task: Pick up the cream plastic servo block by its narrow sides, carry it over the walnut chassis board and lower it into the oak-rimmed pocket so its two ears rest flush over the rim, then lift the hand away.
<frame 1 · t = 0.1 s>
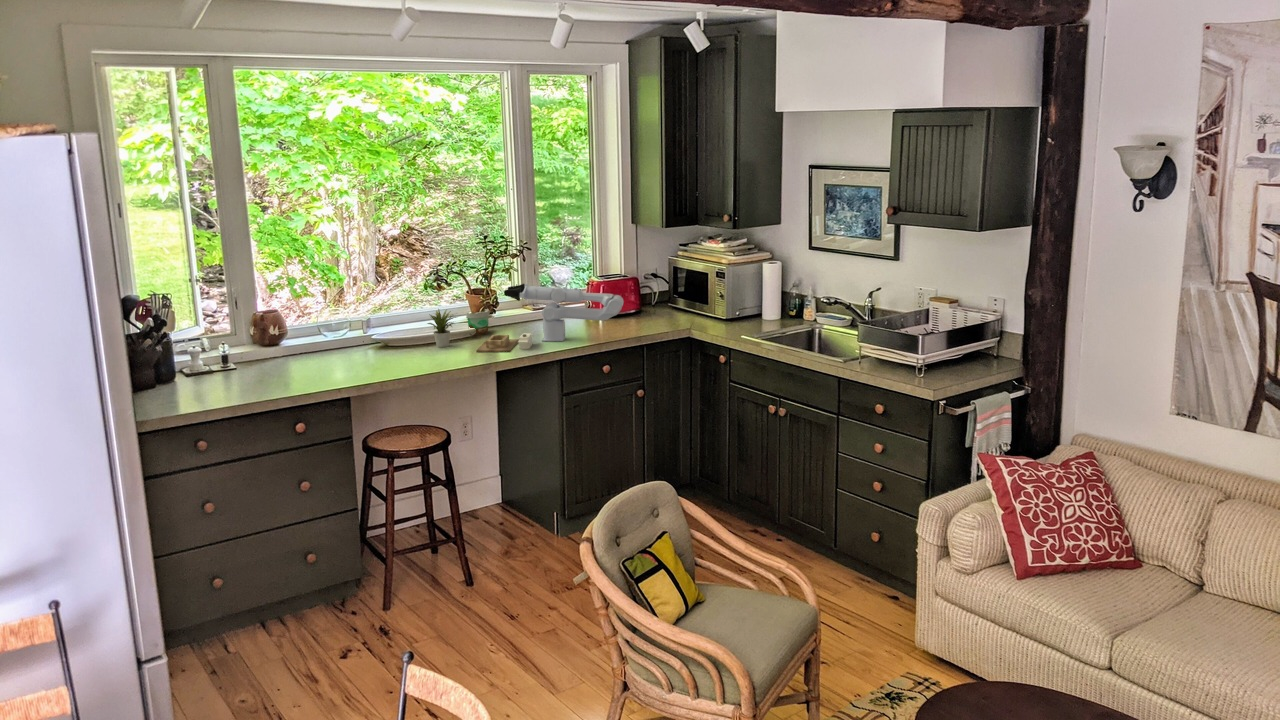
hand: (506, 291, 434), 22 cm above the worktop, tool horizontal, fingers open, 7 cm apart
food container: (482, 333, 452), on the worktop
servo block: (525, 346, 426), on the worktop
chassis board: (498, 346, 427), on the worktop
house plant: (443, 347, 429), on the worktop
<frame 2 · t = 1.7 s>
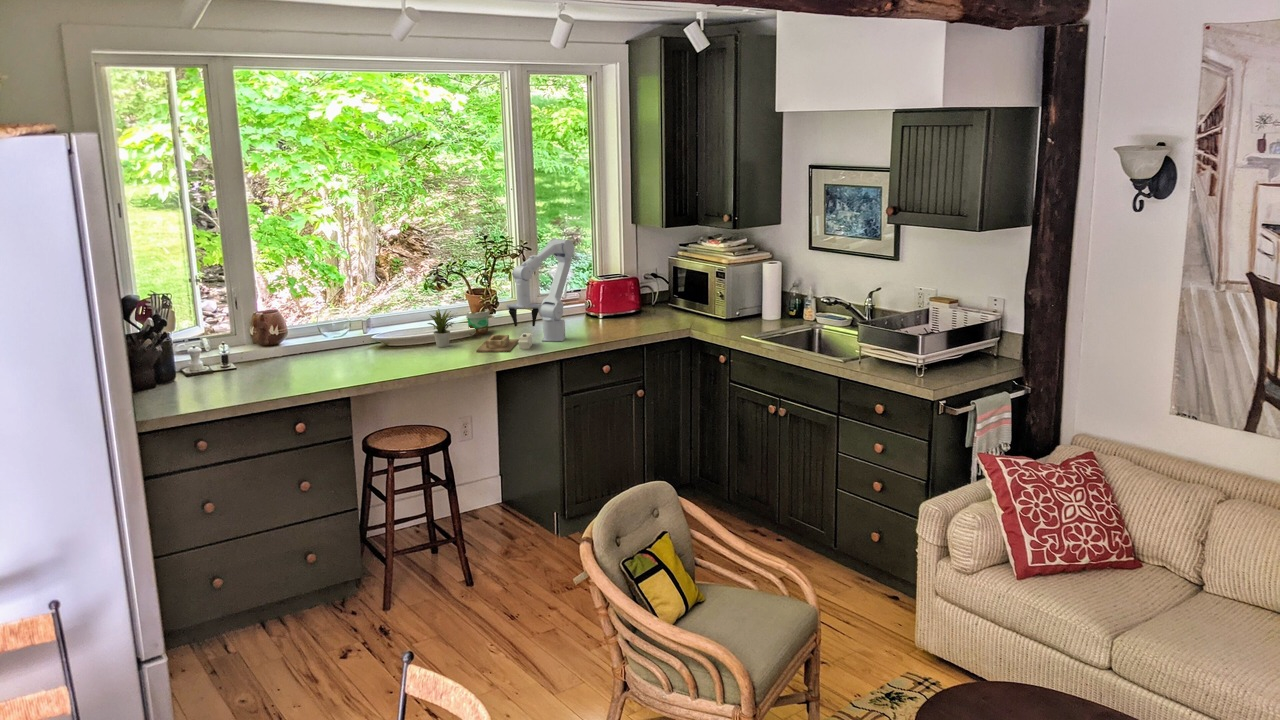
hand: (524, 325, 424), 9 cm above the worktop, tool pointing down, fingers open, 7 cm apart
nothing on the worktop moved.
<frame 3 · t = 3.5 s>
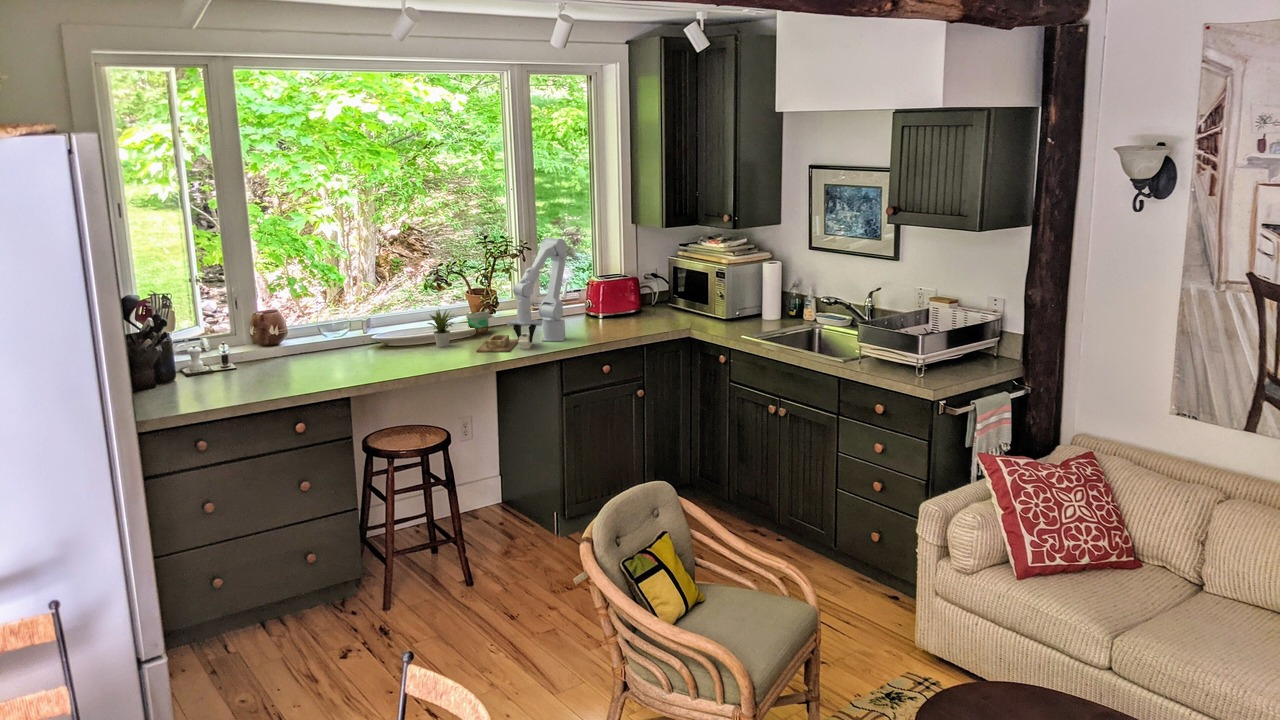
hand: (525, 342, 426), 2 cm above the worktop, tool pointing down, fingers closed on servo block, 4 cm apart
servo block: (525, 346, 426), on the worktop, touching gripper
everything else where it was.
when the fingers open (4 cm above the worktop, at t = 7.3 s): servo block drops 1 cm, resting on chassis board.
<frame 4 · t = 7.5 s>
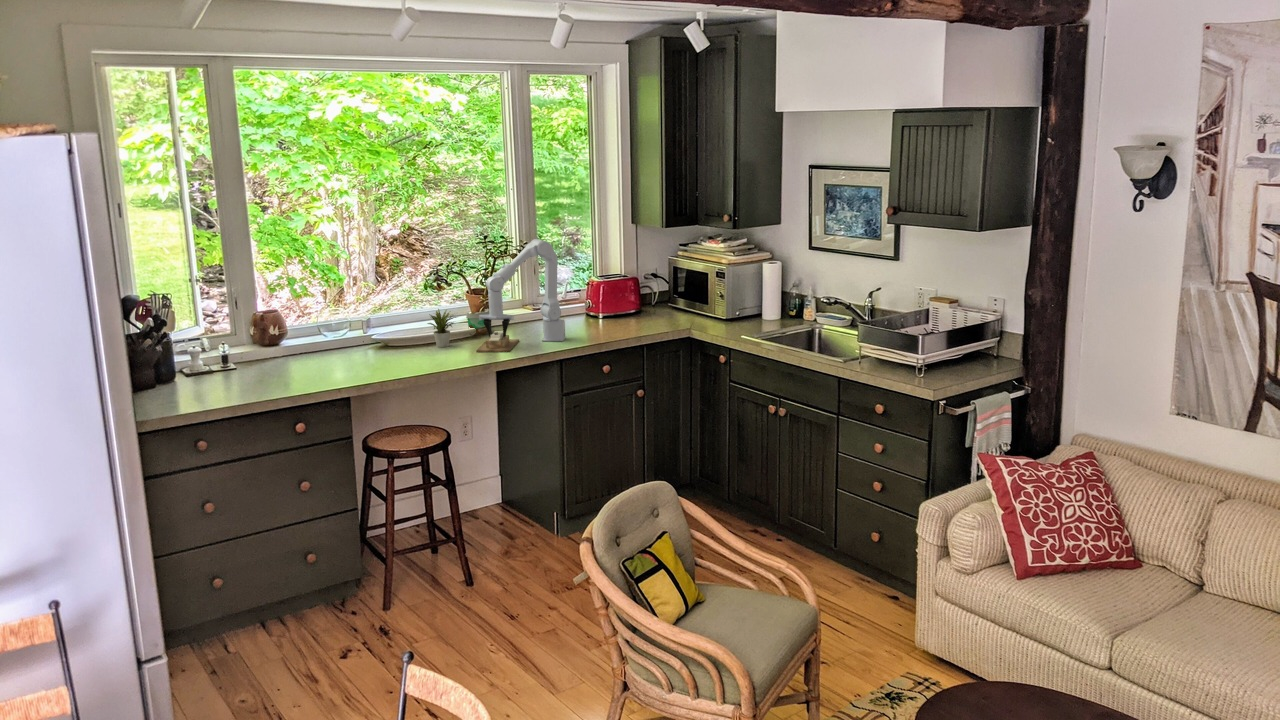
hand: (497, 336, 426), 4 cm above the worktop, tool pointing down, fingers open, 5 cm apart
servo block: (497, 344, 427), point 1 cm above the worktop, touching chassis board
everything else where it was.
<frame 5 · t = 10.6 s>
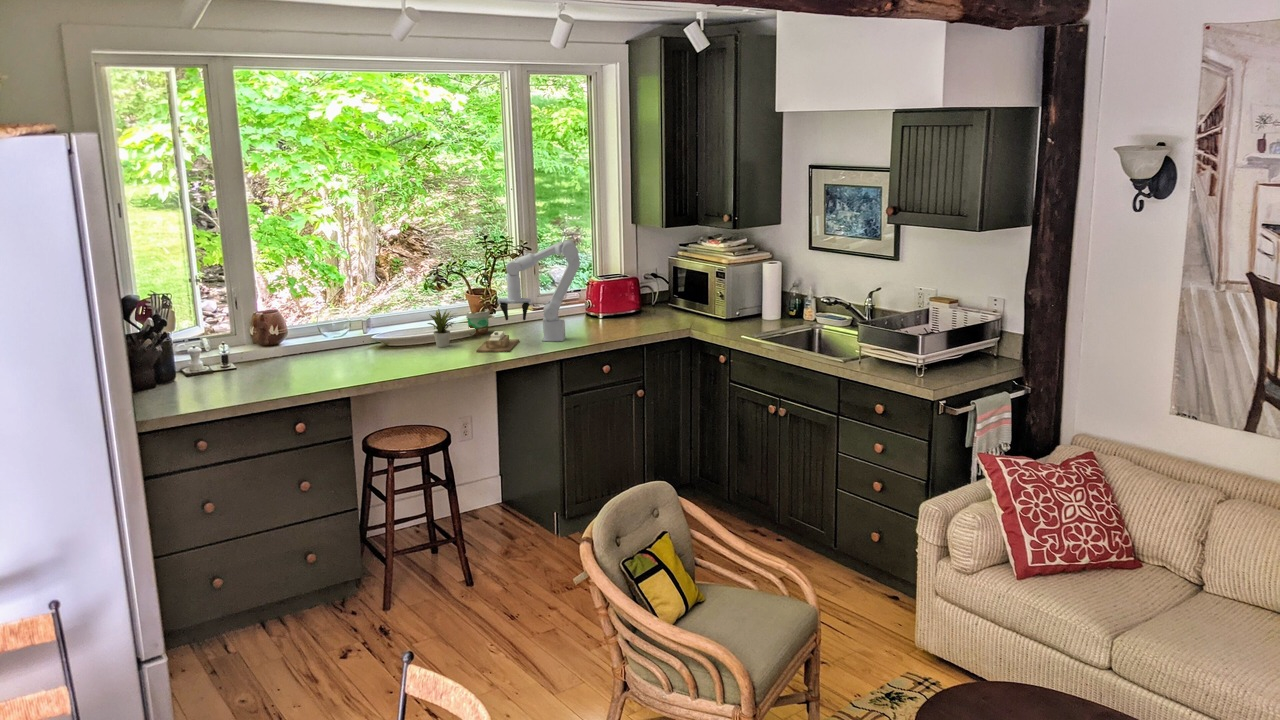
hand: (515, 319, 434), 9 cm above the worktop, tool pointing down, fingers open, 7 cm apart
nothing on the worktop moved.
at the end: servo block 0.1 cm off-centre on the chassis board, point 0.8 cm above the chassis board's base; servo block tilted 0°; the gripper is holding nothing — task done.
